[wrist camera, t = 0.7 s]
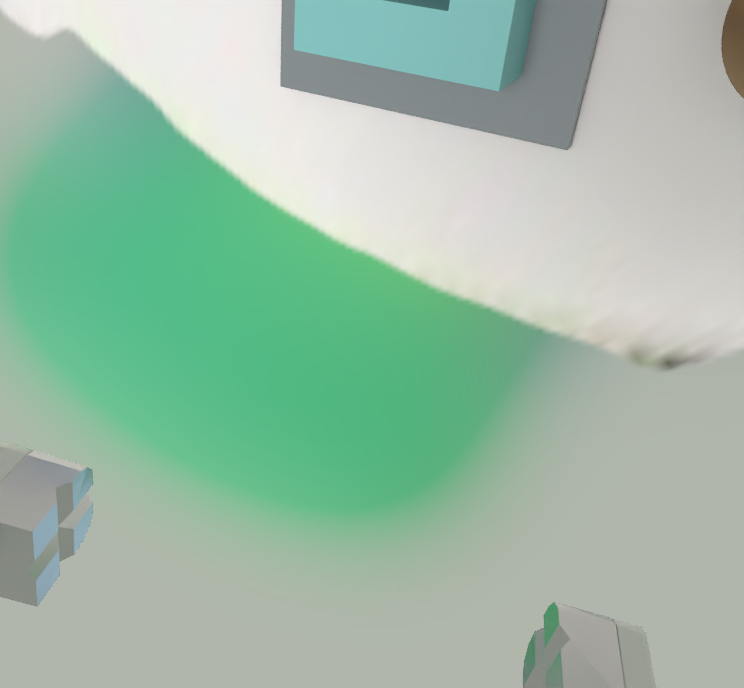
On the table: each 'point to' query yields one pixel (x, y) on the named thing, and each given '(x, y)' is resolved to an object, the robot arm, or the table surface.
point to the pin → (734, 45)
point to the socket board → (469, 103)
